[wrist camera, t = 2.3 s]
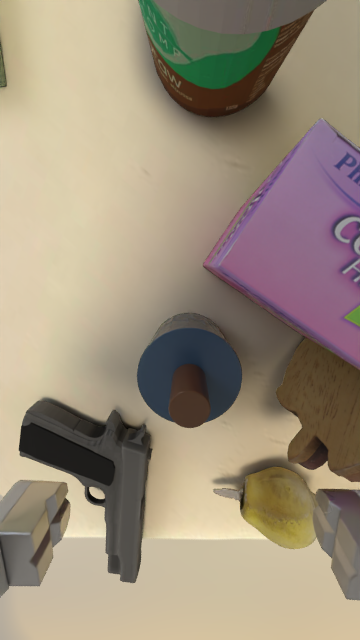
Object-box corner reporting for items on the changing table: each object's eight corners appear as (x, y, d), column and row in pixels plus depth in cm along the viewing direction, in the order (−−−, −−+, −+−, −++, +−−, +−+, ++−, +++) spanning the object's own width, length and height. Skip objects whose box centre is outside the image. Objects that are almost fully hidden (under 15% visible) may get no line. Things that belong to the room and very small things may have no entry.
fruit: (210, 455, 24) (317, 456, 22) (217, 486, 27) (312, 489, 25) (209, 527, 19) (347, 537, 17) (218, 555, 22) (336, 566, 20)
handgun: (25, 572, 25) (138, 588, 24) (13, 413, 20) (151, 430, 20) (42, 541, 27) (143, 554, 27) (35, 395, 23) (156, 409, 23)
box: (199, 266, 20) (216, 266, 8) (240, 205, 19) (326, 105, 7) (295, 333, 21) (431, 416, 9) (340, 279, 20) (558, 296, 8)
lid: (147, 315, 16) (131, 334, 11) (249, 333, 16) (273, 359, 11) (134, 406, 17) (115, 454, 13) (226, 422, 17) (240, 476, 13)
